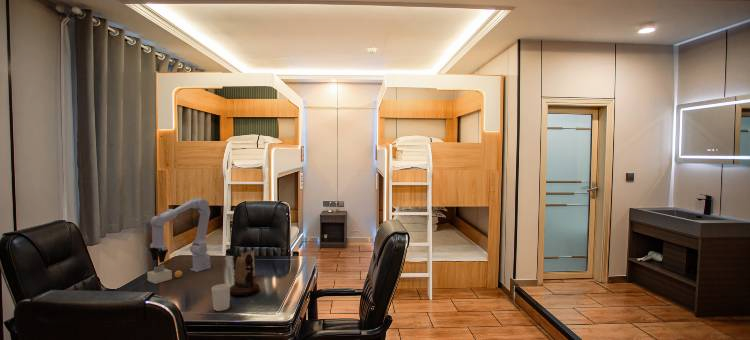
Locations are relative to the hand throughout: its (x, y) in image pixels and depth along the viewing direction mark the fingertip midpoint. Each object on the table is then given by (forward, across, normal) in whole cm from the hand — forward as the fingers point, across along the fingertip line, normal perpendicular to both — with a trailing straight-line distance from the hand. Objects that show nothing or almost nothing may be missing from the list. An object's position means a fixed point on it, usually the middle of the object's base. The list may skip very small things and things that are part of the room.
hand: (158, 261), depth 212 cm
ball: (+9, +5, +8) cm, 13 cm away
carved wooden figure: (+10, +43, +30) cm, 53 cm away
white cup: (+11, +65, -2) cm, 66 cm away
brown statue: (+11, +57, +16) cm, 60 cm away
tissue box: (+11, 0, +1) cm, 11 cm away
